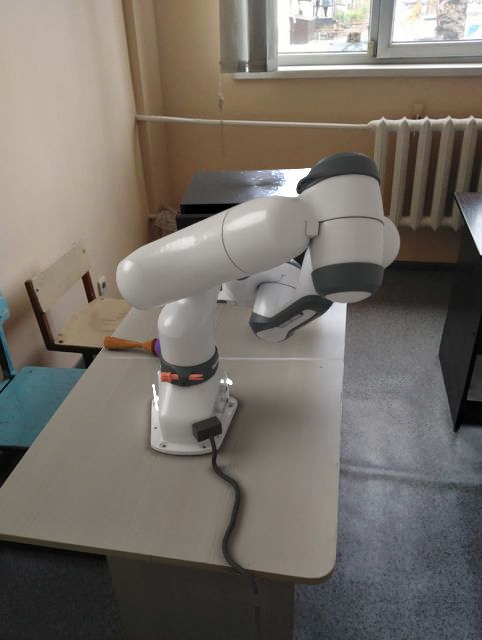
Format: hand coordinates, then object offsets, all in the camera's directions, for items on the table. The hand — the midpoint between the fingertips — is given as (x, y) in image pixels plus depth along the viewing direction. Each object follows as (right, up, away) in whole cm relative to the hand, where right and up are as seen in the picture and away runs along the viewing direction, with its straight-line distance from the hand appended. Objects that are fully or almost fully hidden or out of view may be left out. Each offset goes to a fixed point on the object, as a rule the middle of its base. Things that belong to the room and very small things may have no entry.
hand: (249, 304), depth 142 cm
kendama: (-27, -13, -6) cm, 30 cm away
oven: (+4, +16, +35) cm, 38 cm away
